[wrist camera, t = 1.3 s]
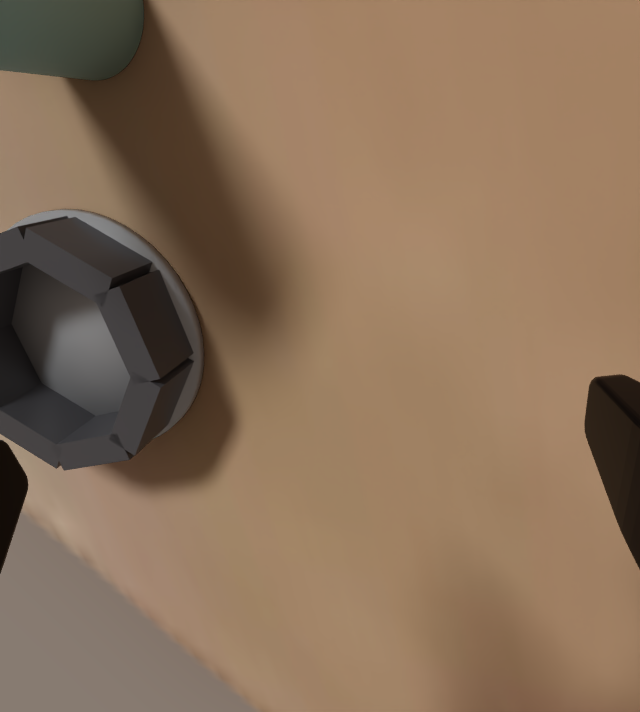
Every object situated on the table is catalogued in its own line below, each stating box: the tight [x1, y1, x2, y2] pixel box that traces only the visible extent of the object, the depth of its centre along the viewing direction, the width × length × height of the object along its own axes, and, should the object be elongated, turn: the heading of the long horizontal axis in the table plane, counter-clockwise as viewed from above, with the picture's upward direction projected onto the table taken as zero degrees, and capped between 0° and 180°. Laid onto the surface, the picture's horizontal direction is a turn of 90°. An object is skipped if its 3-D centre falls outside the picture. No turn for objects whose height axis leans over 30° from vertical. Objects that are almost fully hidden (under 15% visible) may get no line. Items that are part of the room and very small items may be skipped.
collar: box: [0, 209, 204, 470], centre depth 22 cm, size 10×10×3 cm
